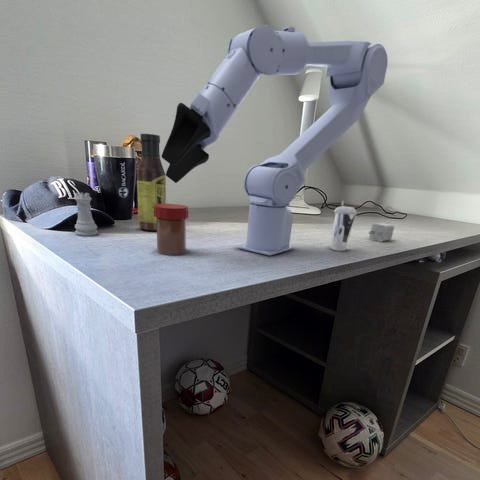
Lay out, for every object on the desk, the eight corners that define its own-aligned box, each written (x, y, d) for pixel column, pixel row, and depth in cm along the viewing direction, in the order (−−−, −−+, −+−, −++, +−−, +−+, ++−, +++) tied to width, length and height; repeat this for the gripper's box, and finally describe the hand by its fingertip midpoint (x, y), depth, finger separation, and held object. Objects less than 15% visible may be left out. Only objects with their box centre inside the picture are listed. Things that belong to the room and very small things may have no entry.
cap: (172, 213, 65) (171, 203, 64) (194, 218, 62) (195, 207, 61) (147, 215, 61) (146, 204, 60) (170, 221, 58) (170, 209, 57)
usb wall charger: (390, 240, 91) (394, 225, 89) (378, 242, 87) (382, 226, 85) (376, 237, 94) (380, 222, 92) (363, 239, 89) (367, 223, 88)
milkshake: (343, 246, 79) (353, 201, 75) (351, 252, 75) (361, 204, 70) (324, 245, 79) (332, 199, 75) (330, 250, 74) (339, 202, 70)
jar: (172, 246, 67) (171, 206, 64) (191, 252, 65) (192, 210, 61) (151, 250, 63) (149, 207, 60) (171, 256, 61) (170, 211, 57)
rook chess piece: (76, 231, 73) (71, 191, 70) (98, 231, 74) (95, 192, 71) (73, 236, 69) (68, 194, 66) (97, 236, 71) (93, 195, 67)
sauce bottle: (163, 232, 79) (161, 134, 70) (135, 230, 78) (130, 131, 70) (169, 227, 84) (167, 136, 76) (143, 225, 84) (139, 134, 76)
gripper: (197, 108, 61) (153, 170, 60) (199, 50, 46) (140, 132, 46) (230, 134, 62) (186, 196, 61) (241, 85, 47) (184, 166, 47)
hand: (169, 170), depth 54 cm, fingers open, 7 cm apart
